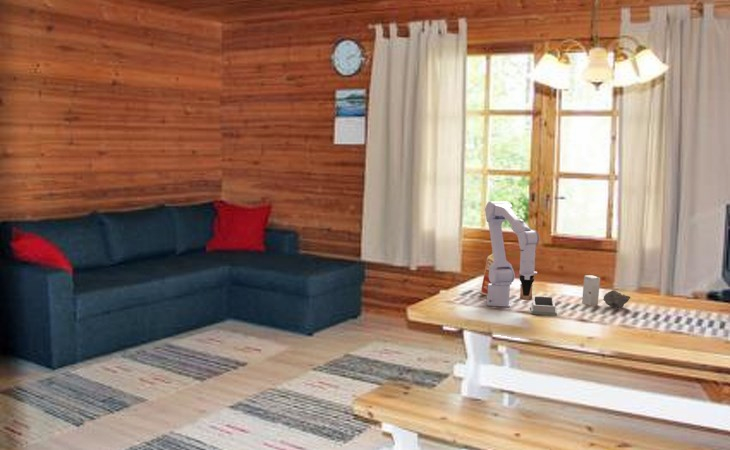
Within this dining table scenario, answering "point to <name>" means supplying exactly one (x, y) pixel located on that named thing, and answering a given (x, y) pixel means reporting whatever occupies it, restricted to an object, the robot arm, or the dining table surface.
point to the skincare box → (591, 290)
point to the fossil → (615, 299)
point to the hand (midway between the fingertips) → (525, 294)
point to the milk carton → (487, 275)
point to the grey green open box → (543, 306)
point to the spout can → (525, 296)
